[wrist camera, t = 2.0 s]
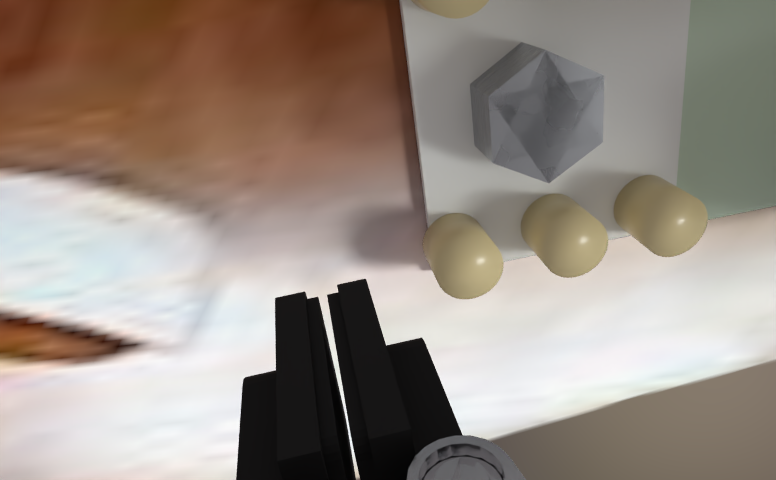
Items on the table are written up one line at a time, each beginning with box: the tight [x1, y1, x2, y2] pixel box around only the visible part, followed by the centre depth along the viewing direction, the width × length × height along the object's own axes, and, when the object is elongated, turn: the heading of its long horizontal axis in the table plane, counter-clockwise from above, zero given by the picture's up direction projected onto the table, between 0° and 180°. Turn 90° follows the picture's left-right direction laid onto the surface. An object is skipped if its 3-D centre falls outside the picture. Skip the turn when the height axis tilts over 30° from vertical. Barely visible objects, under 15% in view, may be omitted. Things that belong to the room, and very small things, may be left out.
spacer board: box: [399, 0, 776, 299], centre depth 24 cm, size 17×14×3 cm
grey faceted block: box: [470, 42, 604, 183], centre depth 23 cm, size 4×5×2 cm
